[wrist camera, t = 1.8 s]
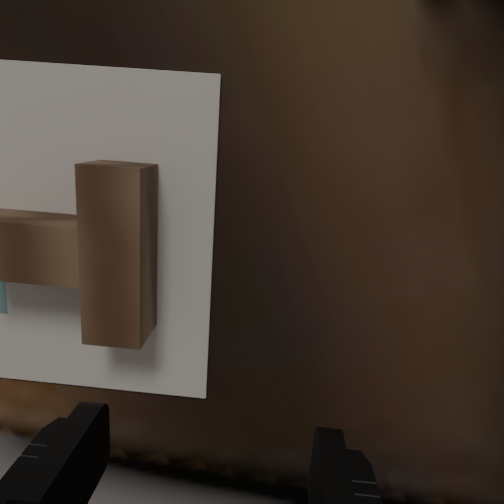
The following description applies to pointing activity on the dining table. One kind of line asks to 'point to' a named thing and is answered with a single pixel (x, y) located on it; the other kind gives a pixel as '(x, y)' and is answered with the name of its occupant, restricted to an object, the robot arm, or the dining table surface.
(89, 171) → the t block
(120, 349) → the mat
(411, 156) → the dining table surface
